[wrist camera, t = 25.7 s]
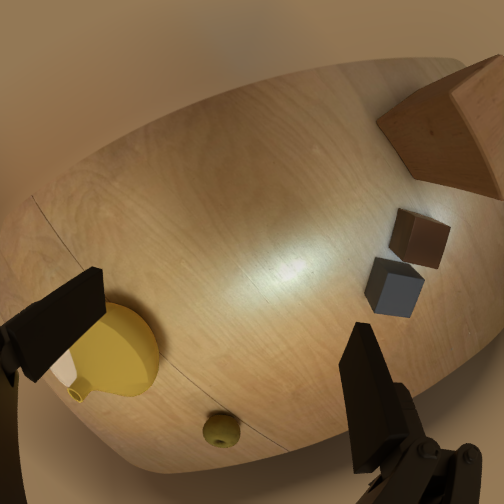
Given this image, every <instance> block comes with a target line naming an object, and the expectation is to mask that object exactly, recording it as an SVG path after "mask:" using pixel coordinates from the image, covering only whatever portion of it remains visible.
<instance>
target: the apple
mask: <svg viewBox="0 0 504 504" xmlns="http://www.w3.org/2000/svg"><path fill="white" fill-rule="evenodd" d="M203 436H204V438H205V440H206V441H207V442H208V443H209V444H211V445H213V446H216V447H220V448H228V447H232V446H234V445H235V444H236V443H237V442H238V441H239V438H240V427H239V425H238V423H237V421H236V420H235V419H234V418H232V417H230V416H227V415H214V416H212V417H210V418H209V419H208V420H207V421H206V423H205V424H204V427H203Z"/></svg>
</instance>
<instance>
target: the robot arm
mask: <svg viewBox="0 0 504 504" xmlns="http://www.w3.org/2000/svg"><path fill="white" fill-rule="evenodd" d="M106 313H107V311H106V303H105V294H104V283H103V270H102V269H100V268H96V267H93V266H92V267H90V268H89V269H87V270H85V271H84V272H82V273H81V274H79V275H78V276H76V277H74V278H73V279H71V280H70V281H68V282H67V283H65V284H64V285H62V286H61V287H59V288H58V289H56V290H55V291H53V292H52V293H50V294H49V295H47V296H46V297H44V298H43V299H42V300H40V301H37V302H34V303H32V304H31V305H29V306H28V307H26V308H25V309H24V310H22V311H21V312H20V314H19V313H18V314H17V315H15V316H14V317H13V318H11V319H10V320H8V321H7V322H6V323H4V324H3V325H2V326H0V504H27V500H26V496H25V490H24V485H23V479H22V473H21V465H20V456H19V445H18V424H17V423H18V422H17V405H18V404H17V403H18V382H19V373H18V371H17V369H18V368H19V367H20V366H21V368H22V371H23V373H24V375H25V376H26V377H27V378H29V379H30V380H32V381H33V382H34V383H36V382H37V380H39V379H40V378H41V377H42V376H43V374H44V373H45V372H46V371H47V370H48V369H49V368H50V367H51V366H52V365H53V364H54V363H55V362H56V361H57V360H58V359H59V358H60V357H61V356H62V355H63V354H64V353H65V352H66V351H67V350H68V349H69V348H70V347H71V346H72V345H73V344H74V343H75V342H76V341H77V340H78V339H79V338H80V337H81V336H83V335H84V334H85V333H86V332H87V331H88V330H89V329H90V328H91V327H92V326H93V325H94V324H95V323H96V322H97V321H98V320H99V319H100V318H101V317H103V316H104V315H105V314H106ZM339 371H340V376H341V382H342V388H343V394H344V400H345V407H346V414H347V421H348V428H349V435H350V443H351V451H352V460H353V469H354V474H360V473H372V472H373V471H374V470H375V469H377V468H378V467H379V466H380V471H381V474H380V475H379V476H378V477H376V478H375V479H374V480H373V481H372V482H371V483H370V484H369V485H370V487H369V488H368V490H367V491H366V492H365V493H364V495H363V496H362V497H361V498H360V499H359V501H358V502H357V503H356V504H479V497H480V488H481V475H482V454H481V452H480V450H479V448H478V447H476V446H475V445H473V444H471V443H466V444H463V445H462V446H461V447H460V448H459V449H458V450H456V451H452V450H445V449H440V446H439V445H438V443H437V442H436V441H435V440H433V439H432V438H429V437H426V435H425V433H424V430H423V427H422V424H421V421H420V419H419V416H418V413H417V410H415V405H414V403H413V402H412V401H413V400H412V397H411V394H410V392H409V390H408V389H407V388H406V387H405V386H404V385H403V383H394V382H393V381H392V378H391V375H390V373H389V370H388V367H387V365H386V362H385V360H384V357H383V354H382V352H381V349H380V347H379V344H378V342H377V339H376V337H375V335H374V332H373V330H372V327H371V325H370V324H368V323H360V322H356V323H355V325H354V328H353V331H352V333H351V336H350V338H349V341H348V343H347V346H346V348H345V350H344V353H343V355H342V358H341V360H340V362H339Z"/></svg>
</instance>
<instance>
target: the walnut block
mask: <svg viewBox="0 0 504 504" xmlns="http://www.w3.org/2000/svg"><path fill="white" fill-rule="evenodd" d="M450 228H451V227H450V226H448V225H446V224H444V223H442V222H439V221H437V220H435V219H433V218H431V217H428V216H425V215H421V214H418V213H415V212H411V211H408V210H404V209H401V208H399V210H398V214H397V218H396V222H395V226H394V230H393V233H392V237H391V241H390V244H389V248H390V249H391V250H392V251H393V252H394V253H395V254H396V255H397V256H398V257H399V258H400V259H401V260H402V261H403V262H407V263H412V264H416V265H421V266H425V267H430V268H434V269H438V267H439V264H440V262H441V258H442V255H443V252H444V249H445V246H446V242H447V239H448V236H449V232H450Z"/></svg>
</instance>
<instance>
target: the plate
mask: <svg viewBox="0 0 504 504" xmlns="http://www.w3.org/2000/svg"><path fill="white" fill-rule="evenodd" d="M50 369H51V371H52V372H53V373H54V375H55V376H56V377H57V379H58V380H59V381H60V382H62V383H63V384H64V385H66V386H67V387H70V385H71V384H72V383H73V382H74V381H75V379H76V377H77V373H76V369H75V365H74V362H73V359H72V357H71V354H70V351H69V349H68V350H67V351H66V352H65V353H64V354H63V355H62V356H61V357H60V358H59V359H58V360H57V361H56V362H55V363H54V364H53V365H52V366H51V367H50Z"/></svg>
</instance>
